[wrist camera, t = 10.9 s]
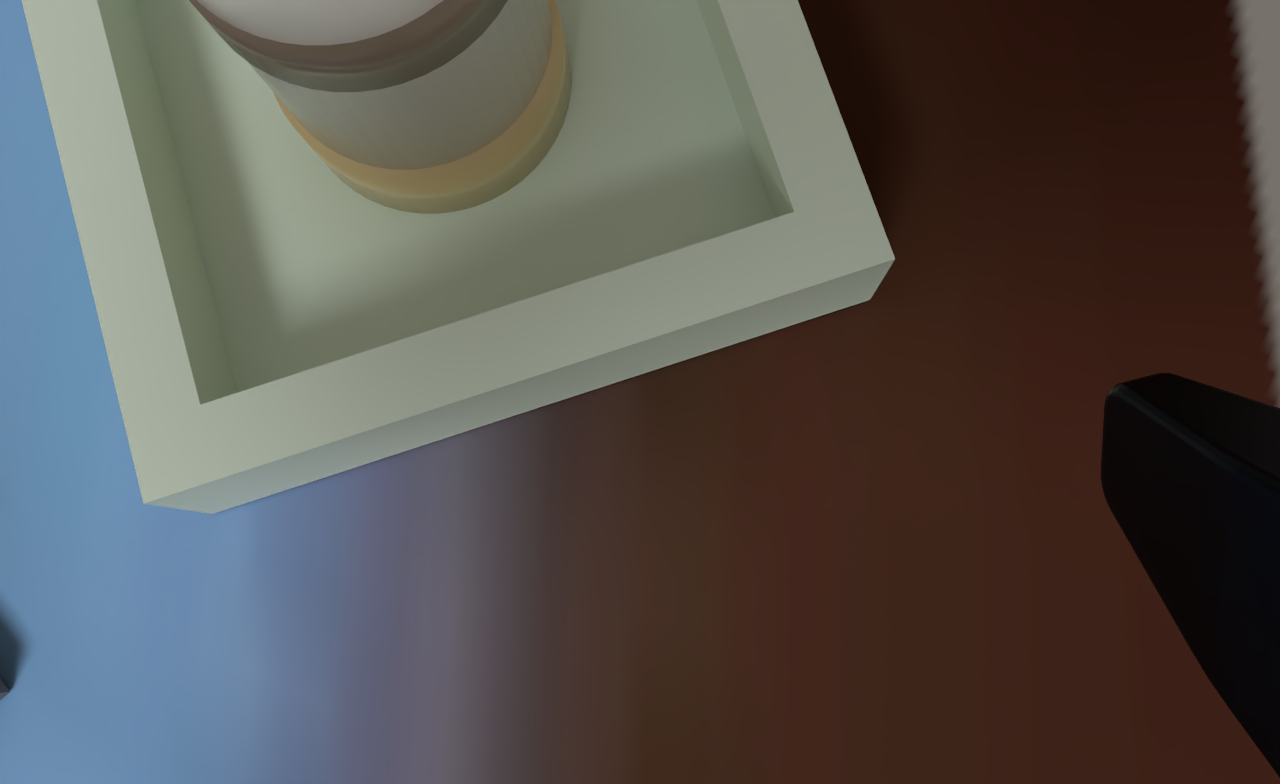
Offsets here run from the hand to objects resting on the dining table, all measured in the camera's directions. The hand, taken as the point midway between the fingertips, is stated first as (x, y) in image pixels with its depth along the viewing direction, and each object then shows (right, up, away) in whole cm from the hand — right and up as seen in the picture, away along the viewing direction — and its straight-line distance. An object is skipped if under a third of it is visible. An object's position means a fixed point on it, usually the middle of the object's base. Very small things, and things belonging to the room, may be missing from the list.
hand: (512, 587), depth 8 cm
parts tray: (-2, +6, +9) cm, 11 cm away
